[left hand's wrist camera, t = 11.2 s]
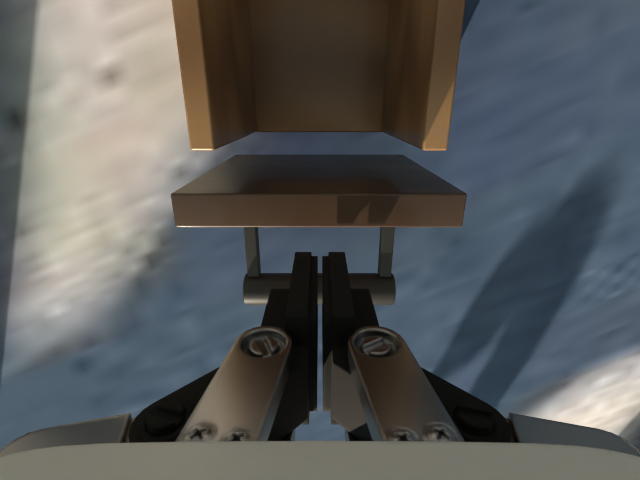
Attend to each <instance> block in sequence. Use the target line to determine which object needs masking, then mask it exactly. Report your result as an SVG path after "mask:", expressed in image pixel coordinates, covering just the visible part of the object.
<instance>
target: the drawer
mask: <svg viewBox="0 0 640 480" xmlns="http://www.w3.org/2000/svg"><path fill="white" fill-rule="evenodd" d="M465 1H466V0H172V6H173V14H174V22H175V30H176V38H177V46H178V54H179V61H180V69H181V77H182V85H183V93H184V101H185V109H186V117H187V124H188V132H189V140H190V148H191V150H215V149H217V148H219V147H222V146H224V145H226V144H229V143H231V142H233V141H236V140H238V139H240V138H243V137H245V136H247V135H250V134H252V133H254V132H384V133H386V134H389V135H391V136H393V137H395V138H398V139H400V140H402V141H405V142H407V143H409V144H411V145H414V146H416V147H418V148H420V149H423V150H447V146H448V138H449V130H450V122H451V114H452V106H453V98H454V90H455V82H456V74H457V66H458V58H459V49H460V41H461V33H462V25H463V17H464V9H465ZM466 197H467V194H466V193H464V192H463V191H461V190H460V189H458V188H456V187H455V186H453V185H451V184H450V183H448V182H446V181H445V180H443V179H442V178H440V177H438V176H437V175H435V174H433V173H432V172H430V171H428V170H427V169H425V168H424V167H422V166H420V165H419V164H417V163H415V162H414V161H412V160H410V159H409V158H407V157H406V156H404V155H235V156H233V157H232V158H230V159H228V160H227V161H225V162H223V163H222V164H220V165H218V166H217V167H215V168H213V169H212V170H210V171H208V172H207V173H205V174H203V175H202V176H200V177H198V178H197V179H195V180H193V181H192V182H190V183H188V184H187V185H185V186H183V187H182V188H180V189H178V190H177V191H175V192H173V193H172V194H171V199H172V205H173V212H174V218H175V225H176V227H244V235H245V247H246V260H247V272H248V273H247V274H246V275H245V278H244V283H243V299H244V303H245V304H246V305H267V302H268V298H269V294H270V290H271V289H289V288H290V282H291V276H292V273H260V272H261V268H260V253H259V238H258V227H381V229H380V245H379V261H378V273H348V276H349V282H350V288H351V289H369V291H370V294H371V298H372V302H373V305H392V304H394V301H395V294H396V288H395V279H394V276H393V274H392V273H391V268H392V255H393V243H394V230H395V227H462V223H463V217H464V210H465V204H466ZM318 305H322V273H318Z"/></svg>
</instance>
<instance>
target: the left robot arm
mask: <svg viewBox="0 0 640 480" xmlns="http://www.w3.org/2000/svg"><path fill="white" fill-rule="evenodd" d="M317 348H318V261H317V256H311V252H295V258H294V264H293V270H292V276H291V282H290V288H289V289H271V290H270V294H269V298H268V302H267V305H266V309H265V313H264V317H263V320H262V324H261V327H255V328H252V329H250V330H247V331H245V332H244V333H242V334H241V335H240V336H239V337H238V338H237V339H236V341H235V342H234V344H233V346H232V347H231V349H230V351H229V352H228V354H227V356H226V357H225V359H224V361H223V362H222V364H221V366H220V367H219V368H217V369H215V370H213V371H211V372H210V373H208V374H206V375H204V376H202V377H200V378H199V379H197V380H195V381H193V382H191V383H189V384H188V385H186V386H184V387H182V388H180V389H178V390H177V391H175V392H173V393H171V394H169V395H167V396H166V397H164V398H162V399H160V400H158V401H156V402H155V403H153V404H151V405H150V406H148V407H147V408H145V409H144V410H143V411H142V412H141V413H140V414H139V415H138V416H137V417H136V418H133V419H132V417H131V413H128V414H122V415H116V416H111V417H105V418H100V419H94V420H88V421H83V422H77V423H72V424H66V425H61V426H55V427H49V428H44V429H40V430H36V431H33V432H29V433H27V434H25V435H23V436H21V437H19V438H17V439H15V440H13V441H12V442H11V443H9V444H8V445H7V446H6V447H4V448H3V449H2V450H1V451H0V480H640V451H639V450H638V449H637V448H636V447H634V446H633V445H632V444H631V443H629V442H628V441H627V440H625V439H623V438H621V437H619V436H617V435H615V434H613V433H611V432H607V431H604V430H600V429H596V428H591V427H585V426H579V425H574V424H568V423H563V422H557V421H552V420H546V419H540V418H535V417H529V416H524V415H518V414H512V413H509V417H508V419H507V418H504V417H503V416H502V415H501V414H500V413H499V412H498V411H497V410H496V409H495V408H493V407H492V406H490V405H489V404H487V403H485V402H484V401H482V400H480V399H478V398H476V397H474V396H473V395H471V394H469V393H467V392H465V391H463V390H462V389H460V388H458V387H456V386H454V385H452V384H451V383H449V382H447V381H445V380H443V379H441V378H440V377H438V376H436V375H434V374H432V373H430V372H429V371H427V370H425V369H423V368H421V367H420V366H419V364H418V362H417V361H416V359H415V357H414V356H413V354H412V352H411V351H410V349H409V347H408V346H407V344H406V342H405V341H404V339H403V338H402V337H401V336H400V335H399V334H398V333H396V332H395V331H393V330H390V329H388V328H385V327H379V324H378V320H377V317H376V313H375V309H374V305H373V302H372V298H371V294H370V291H369V289H351V288H350V282H349V276H348V270H347V264H346V258H345V252H329V256H323V261H322V348H323V411H331V424H340V425H341V426H342V427H344V428H345V441H295V428H296V427H298V426H299V425H300V424H309V411H317Z"/></svg>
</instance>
